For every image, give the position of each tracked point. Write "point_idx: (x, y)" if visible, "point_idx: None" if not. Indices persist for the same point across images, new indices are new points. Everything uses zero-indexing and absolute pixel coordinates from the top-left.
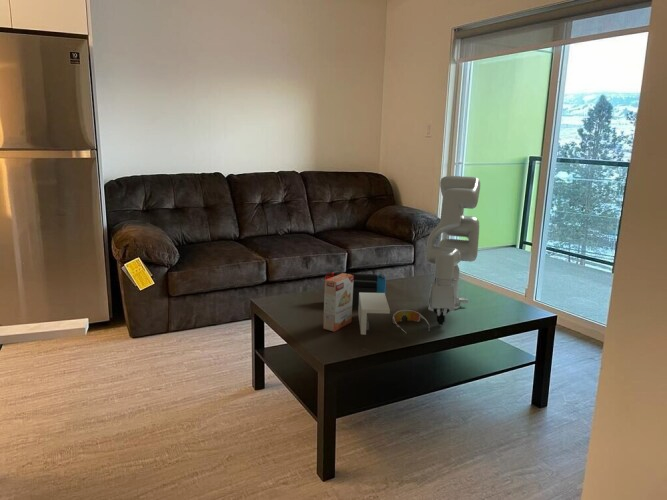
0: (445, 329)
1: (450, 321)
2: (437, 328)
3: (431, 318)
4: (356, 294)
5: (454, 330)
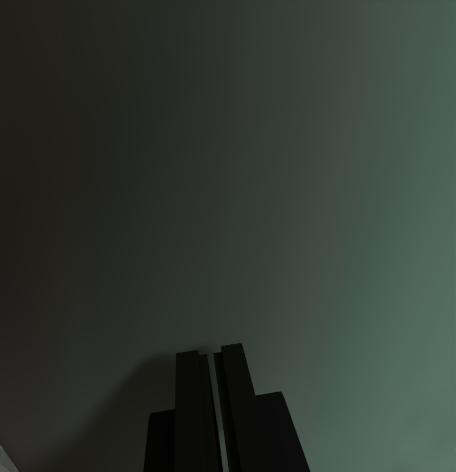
0: None
1: (413, 126)
2: None
3: (68, 5)
4: None
5: (380, 457)
